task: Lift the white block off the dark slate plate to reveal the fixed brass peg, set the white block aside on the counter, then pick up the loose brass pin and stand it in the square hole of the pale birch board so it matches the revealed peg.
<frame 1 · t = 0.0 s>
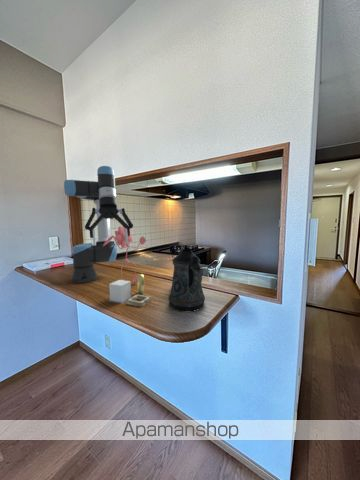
hand: (111, 244, 88), 28 cm above the countertop, tool tilted 20°, fingers open, 13 cm apart
coffee jar: (184, 288, 112), on the countertop
pin: (141, 293, 104), on the countertop
pink flower stem: (125, 285, 118), on the countertop
white block: (120, 298, 97), resting on peg plate
beer stein: (189, 305, 90), on the countertop
socket board: (139, 302, 93), on the countertop
peg plate: (120, 299, 97), on the countertop
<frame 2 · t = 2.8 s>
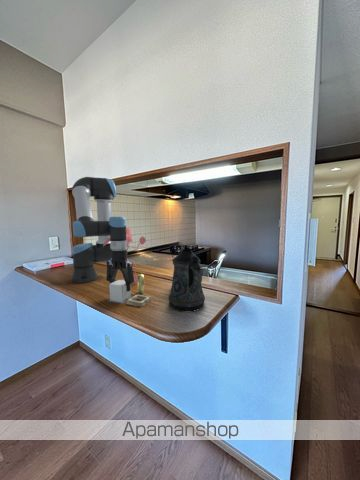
hand: (120, 296, 97), 2 cm above the countertop, tool pointing down, fingers closed on white block, 7 cm apart
pink flower stem: (125, 285, 118), on the countertop, touching arm
white block: (120, 298, 97), resting on peg plate, touching gripper
everything else where it was.
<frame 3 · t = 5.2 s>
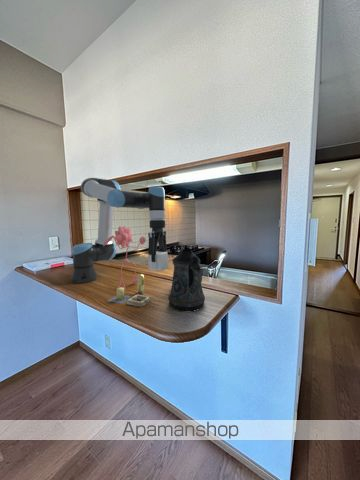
hand: (158, 266, 98), 15 cm above the countertop, tool pointing down, fingers closed on white block, 7 cm apart
pink flower stem: (125, 285, 118), on the countertop
white block: (158, 268, 98), point 14 cm above the countertop, touching gripper
everything else where it was.
when the fingers open (3 cm above the countertop, at t = 7.5 s): white block drops 2 cm, on the countertop.
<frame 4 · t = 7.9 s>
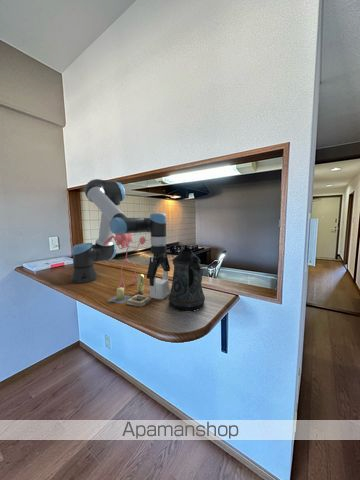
hand: (159, 287, 100), 5 cm above the countertop, tool pointing down, fingers open, 13 cm apart
white block: (159, 296, 100), on the countertop
everything else where it was.
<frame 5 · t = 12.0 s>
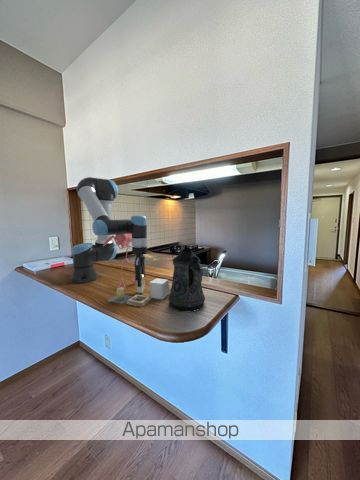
hand: (140, 290, 104), 2 cm above the countertop, tool pointing down, fingers closed on pin, 3 cm apart
pin: (140, 293, 104), on the countertop, touching gripper
everything else where it was.
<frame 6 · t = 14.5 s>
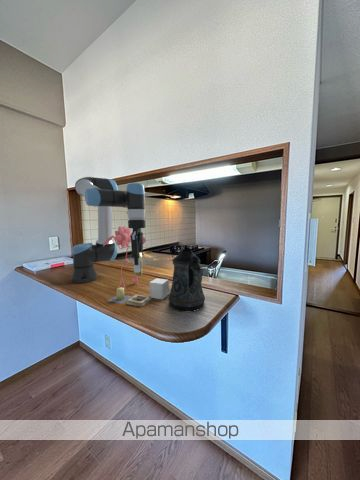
hand: (138, 270, 91), 15 cm above the countertop, tool pointing down, fingers closed on pin, 3 cm apart
pin: (138, 274, 91), point 13 cm above the countertop, touching gripper
everything else where it was.
when the fingers open (3 cm above the countertop, at t = 17.3 s): pin stays where it is, resting on socket board.
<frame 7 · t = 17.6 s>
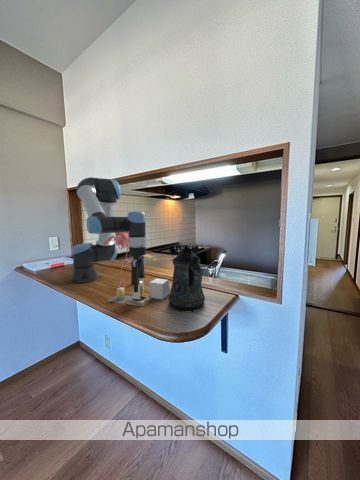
hand: (139, 294, 93), 4 cm above the countertop, tool pointing down, fingers open, 8 cm apart
pin: (139, 302, 93), resting on socket board
everything else where it was.
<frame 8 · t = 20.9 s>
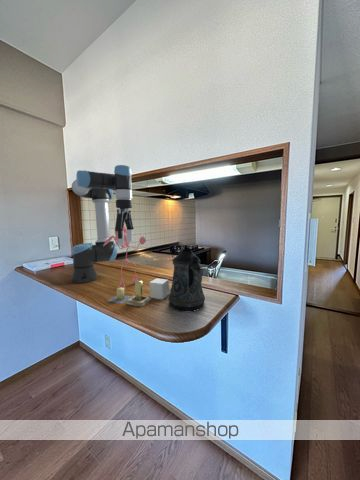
hand: (125, 243, 97), 27 cm above the countertop, tool pointing down, fingers open, 13 cm apart
nothing on the countertop moved.
at the end: pin 0.0 cm off-centre on the socket board, point 0.1 cm above the socket board's base; pin tilted 1°; white block moved 18.8 cm from its start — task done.
